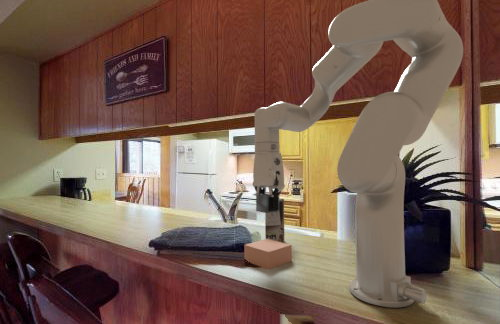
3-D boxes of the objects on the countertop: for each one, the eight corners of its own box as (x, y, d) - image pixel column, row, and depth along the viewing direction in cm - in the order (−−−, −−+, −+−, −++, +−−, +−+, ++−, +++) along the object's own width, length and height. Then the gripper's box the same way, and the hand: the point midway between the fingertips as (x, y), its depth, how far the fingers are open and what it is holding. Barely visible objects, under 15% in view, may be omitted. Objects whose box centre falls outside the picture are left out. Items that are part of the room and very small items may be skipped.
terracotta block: (291, 261, 80) (291, 244, 80) (268, 270, 73) (268, 252, 73) (267, 254, 87) (267, 238, 87) (244, 261, 80) (244, 244, 80)
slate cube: (279, 211, 80) (279, 194, 80) (266, 213, 77) (265, 195, 77) (269, 209, 84) (269, 193, 84) (256, 210, 81) (256, 194, 81)
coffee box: (283, 246, 94) (282, 201, 95) (265, 246, 95) (264, 200, 96) (284, 240, 103) (284, 198, 104) (268, 239, 104) (267, 198, 105)
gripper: (295, 147, 76) (296, 212, 75) (260, 151, 90) (261, 205, 90) (274, 146, 72) (275, 214, 71) (241, 150, 86) (242, 207, 85)
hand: (267, 208), depth 80 cm, fingers closed on slate cube, 5 cm apart
